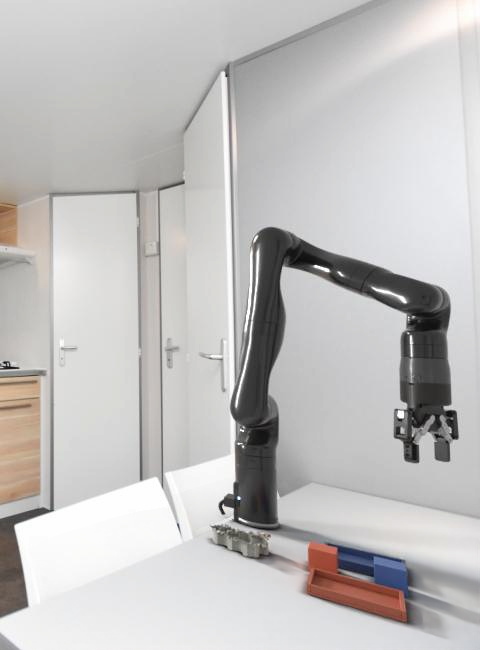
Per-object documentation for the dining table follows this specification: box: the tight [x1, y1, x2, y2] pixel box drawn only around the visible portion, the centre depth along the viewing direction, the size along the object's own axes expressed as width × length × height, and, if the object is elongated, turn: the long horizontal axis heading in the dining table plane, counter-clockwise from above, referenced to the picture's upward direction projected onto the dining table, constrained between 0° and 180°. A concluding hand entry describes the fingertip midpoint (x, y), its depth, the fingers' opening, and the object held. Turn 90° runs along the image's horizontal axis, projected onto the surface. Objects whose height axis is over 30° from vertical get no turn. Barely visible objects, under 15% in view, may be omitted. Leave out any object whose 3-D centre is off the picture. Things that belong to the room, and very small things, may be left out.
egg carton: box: [209, 523, 272, 559], centre depth 105 cm, size 11×8×4 cm
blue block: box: [373, 556, 409, 598], centre depth 88 cm, size 4×4×4 cm
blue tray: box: [323, 541, 409, 586], centre depth 97 cm, size 13×9×2 cm
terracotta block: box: [307, 541, 339, 574], centre depth 94 cm, size 4×4×4 cm
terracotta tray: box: [306, 567, 408, 623], centre depth 84 cm, size 13×9×2 cm
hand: (427, 461), depth 95 cm, fingers open, 8 cm apart
